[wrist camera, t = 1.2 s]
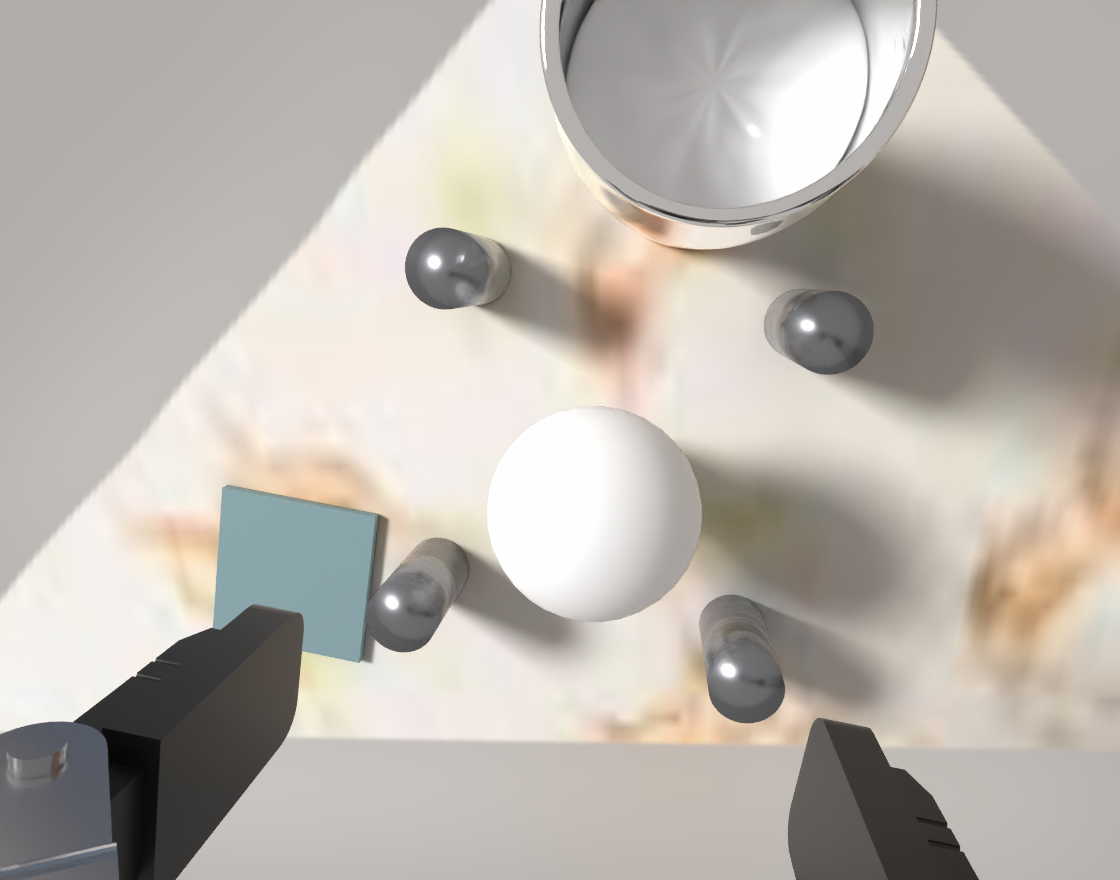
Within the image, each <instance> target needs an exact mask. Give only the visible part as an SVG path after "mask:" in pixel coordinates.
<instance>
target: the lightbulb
mask: <svg viewBox="0 0 1120 880" xmlns="http://www.w3.org/2000/svg"><path fill="white" fill-rule="evenodd" d="M487 516H488V531H489V535H490V539H491V543H492V547H493V550H494V552H495V554H496V557H497V559H498V561H499V563H500V565H501V567H502V569H503V571H504V572H505V573H506V575H507V576H508V577H509V579H510V580H511V582H512V583H513V584H514V586H515V587H516V588H517V589H518V590H519V591H520V592H522V593H523V594H524V595H525V596H526V597H527V598H528V599H529V600H531V601H532V602H534V603H535V604H537V605H538V606H540V607H541V608H543V609H544V610H547V611H549V612H551V613H554V614H556V615H559V616H561V617H564V618H569V619H573V620H578V621H588V622H604V621H610V620H617V619H622V618H624V617H627V616H630V615H633V614H636V613H638V612H640V611H642V610H644V609H645V608H647V607H649V606H650V605H652V604H654V603H655V602H657V601H659V600H660V599H661V598H662V597H663V596H665V595H666V594H667V593H668V592H669V591H670V590H671V589H672V588H673V587H674V586H675V585H676V584H677V582H678V581H679V580H680V578H681V577H682V576H683V574H684V573H685V572H686V570H687V568H688V566H689V564H690V561H691V559H692V557H693V555H694V553H695V550H696V548H697V545H698V541H699V537H700V532H701V528H702V504H701V498H700V493H699V488H698V483H697V480H696V478H695V475H694V473H693V470H692V468H691V466H690V463H689V461H688V460H687V458H686V457H685V455H684V454H683V452H682V451H681V449H680V448H679V447H678V445H677V444H676V443H675V442H674V441H673V440H672V439H671V438H670V437H669V436H668V435H667V434H666V433H665V432H664V431H663V430H662V429H660V428H658V427H657V426H655V425H654V424H652V423H651V422H649V421H648V420H646V419H645V418H642V417H640V416H637V415H635V414H632V413H630V412H628V411H625V410H620V409H615V408H610V407H605V406H582V407H577V408H572V409H567V410H562V411H560V412H557V413H555V414H553V415H550V416H548V417H545V418H543V419H542V420H540V421H539V422H537V423H536V424H534V425H533V426H531V427H530V428H528V429H527V430H526V431H525V432H524V433H523V434H522V435H521V436H520V437H519V438H518V439H517V440H516V441H515V442H514V443H513V444H512V445H511V446H510V447H509V449H508V450H507V452H506V453H505V455H504V456H503V458H502V460H501V461H500V463H499V464H498V466H497V469H496V471H495V474H494V477H493V479H492V482H491V485H490V491H489V498H488V504H487Z"/></svg>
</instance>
